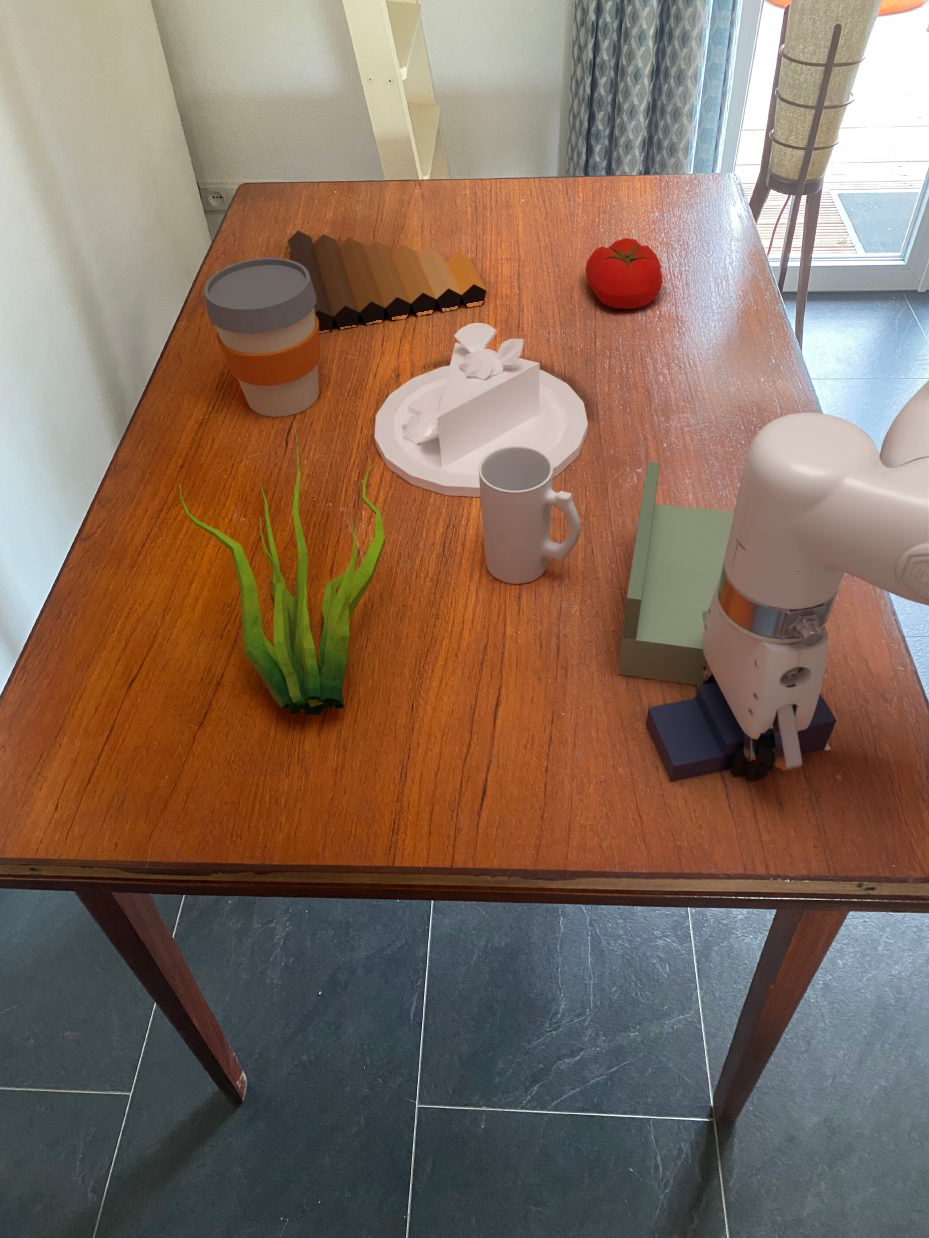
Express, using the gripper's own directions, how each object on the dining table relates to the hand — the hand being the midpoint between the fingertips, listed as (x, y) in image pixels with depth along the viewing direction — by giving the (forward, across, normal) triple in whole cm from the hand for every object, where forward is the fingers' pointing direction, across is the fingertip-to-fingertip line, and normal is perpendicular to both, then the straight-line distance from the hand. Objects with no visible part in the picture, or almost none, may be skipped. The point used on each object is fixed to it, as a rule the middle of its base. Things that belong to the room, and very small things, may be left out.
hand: (732, 739), depth 74 cm
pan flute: (+1, +89, +16) cm, 90 cm away
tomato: (+1, +73, -16) cm, 75 cm away
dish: (+1, +49, +10) cm, 50 cm away
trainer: (+1, 0, 0) cm, 1 cm away
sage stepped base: (+1, +15, -3) cm, 16 cm away
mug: (+1, +25, +10) cm, 27 cm away
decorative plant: (+1, +26, +34) cm, 43 cm away
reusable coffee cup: (+1, +63, +33) cm, 71 cm away
